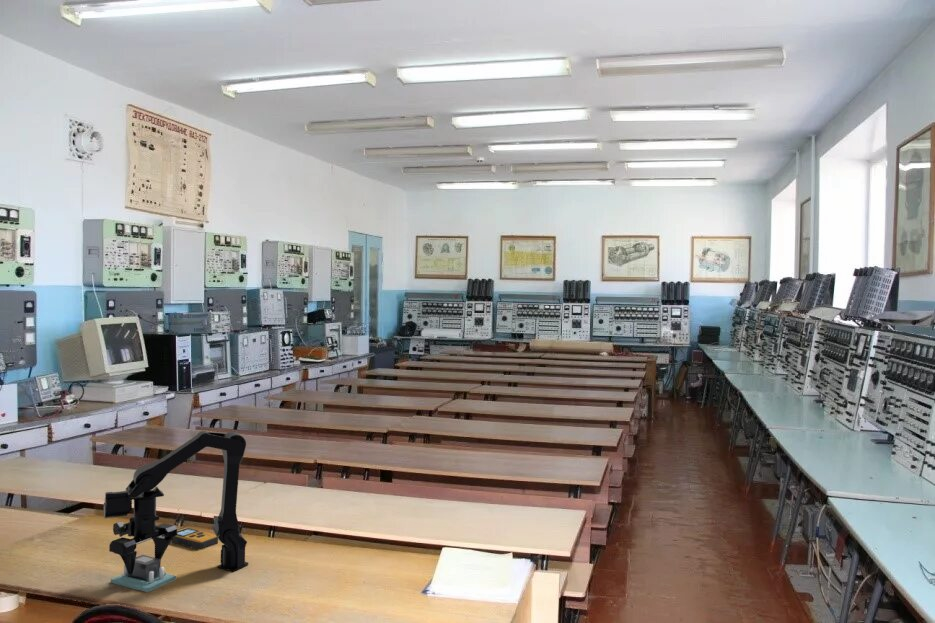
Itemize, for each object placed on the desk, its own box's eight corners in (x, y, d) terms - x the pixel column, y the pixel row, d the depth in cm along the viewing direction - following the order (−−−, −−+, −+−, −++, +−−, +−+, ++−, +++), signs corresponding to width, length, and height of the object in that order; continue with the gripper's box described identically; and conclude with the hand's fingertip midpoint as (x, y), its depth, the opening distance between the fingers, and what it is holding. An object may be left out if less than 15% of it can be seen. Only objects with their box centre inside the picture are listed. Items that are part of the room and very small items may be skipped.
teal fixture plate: (176, 579, 205) (176, 565, 205) (147, 592, 196) (147, 577, 196) (140, 570, 211) (140, 556, 211) (110, 582, 202) (110, 568, 202)
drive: (160, 576, 204) (160, 558, 204) (145, 582, 200) (146, 564, 200) (142, 572, 207) (142, 554, 207) (127, 578, 203) (127, 560, 202)
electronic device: (199, 552, 228) (199, 541, 228) (165, 542, 236) (165, 532, 236) (220, 544, 236) (220, 534, 236) (186, 535, 243) (186, 525, 243)
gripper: (150, 500, 215) (149, 553, 215) (95, 517, 198) (94, 574, 198) (178, 506, 210) (178, 559, 211) (124, 524, 193) (123, 582, 194)
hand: (144, 568), depth 203 cm, fingers open, 9 cm apart
